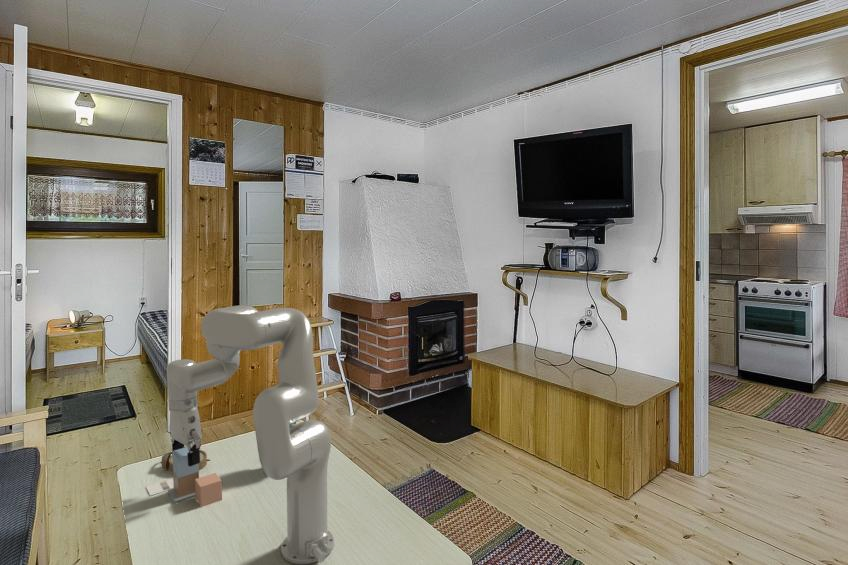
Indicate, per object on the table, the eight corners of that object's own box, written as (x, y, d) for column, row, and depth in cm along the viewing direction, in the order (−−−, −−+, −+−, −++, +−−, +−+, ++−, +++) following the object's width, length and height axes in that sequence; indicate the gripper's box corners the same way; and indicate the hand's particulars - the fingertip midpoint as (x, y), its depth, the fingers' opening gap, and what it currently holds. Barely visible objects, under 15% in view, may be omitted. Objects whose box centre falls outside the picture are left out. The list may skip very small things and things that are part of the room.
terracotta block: (222, 500, 134) (221, 480, 133) (201, 507, 130) (200, 487, 130) (215, 492, 138) (215, 472, 138) (195, 498, 135) (194, 479, 134)
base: (205, 493, 137) (204, 471, 136) (175, 503, 132) (174, 481, 131) (197, 482, 143) (196, 461, 142) (168, 492, 138) (167, 470, 137)
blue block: (199, 471, 136) (198, 452, 136) (178, 478, 133) (177, 457, 132) (193, 464, 140) (192, 445, 140) (173, 470, 137) (172, 451, 136)
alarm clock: (190, 469, 146) (151, 454, 149) (188, 483, 146) (150, 468, 150) (215, 453, 156) (178, 440, 160) (213, 466, 157) (177, 453, 161)
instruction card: (183, 485, 141) (183, 484, 141) (150, 496, 135) (150, 495, 135) (178, 477, 146) (178, 476, 146) (145, 487, 140) (145, 486, 140)
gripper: (210, 405, 132) (213, 463, 134) (182, 393, 143) (185, 447, 144) (183, 413, 126) (187, 473, 128) (156, 400, 137) (159, 455, 138)
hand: (186, 459), depth 136 cm, fingers open, 9 cm apart
